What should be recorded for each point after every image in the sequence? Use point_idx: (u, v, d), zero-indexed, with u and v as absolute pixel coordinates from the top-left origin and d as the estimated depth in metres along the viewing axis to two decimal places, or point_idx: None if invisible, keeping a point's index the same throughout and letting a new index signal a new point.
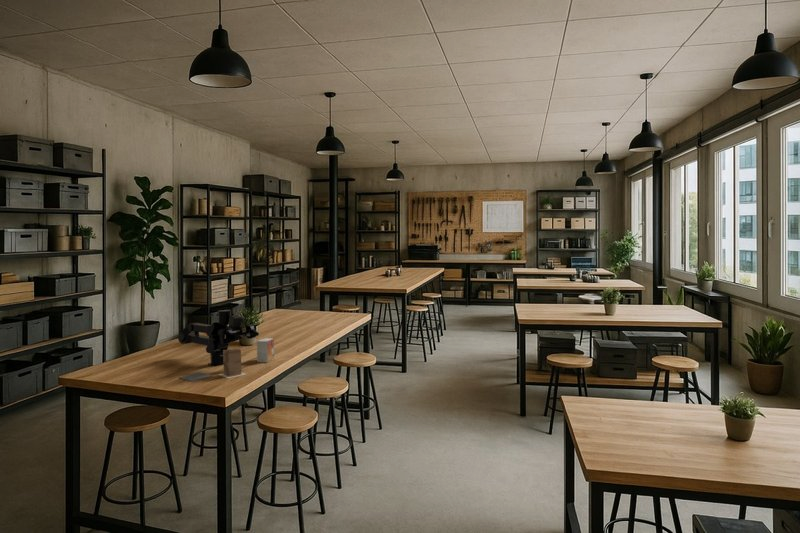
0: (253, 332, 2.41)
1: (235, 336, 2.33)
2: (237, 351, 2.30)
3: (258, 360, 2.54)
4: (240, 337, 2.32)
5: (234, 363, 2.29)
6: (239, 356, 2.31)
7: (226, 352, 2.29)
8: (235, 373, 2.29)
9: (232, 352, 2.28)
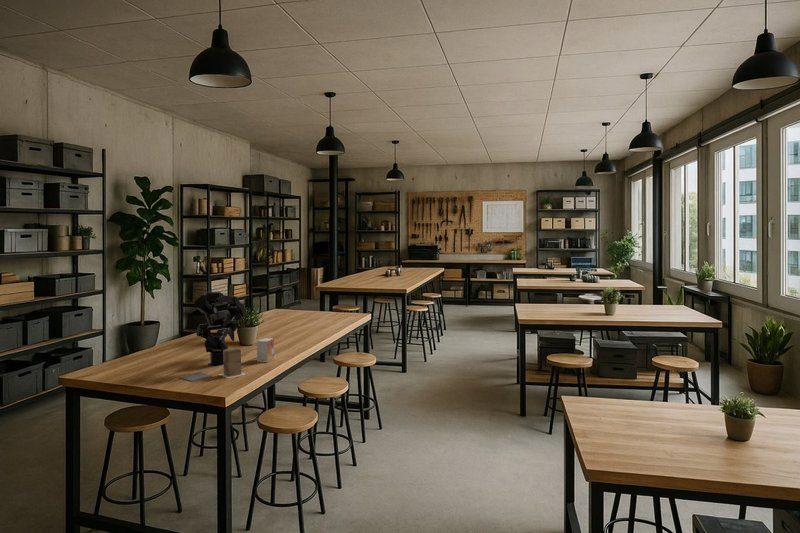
0: (231, 334, 2.41)
1: (210, 338, 2.34)
2: (237, 351, 2.30)
3: (258, 360, 2.54)
4: (213, 342, 2.33)
5: (234, 363, 2.29)
6: (239, 356, 2.31)
7: (226, 352, 2.29)
8: (235, 373, 2.29)
9: (232, 352, 2.28)
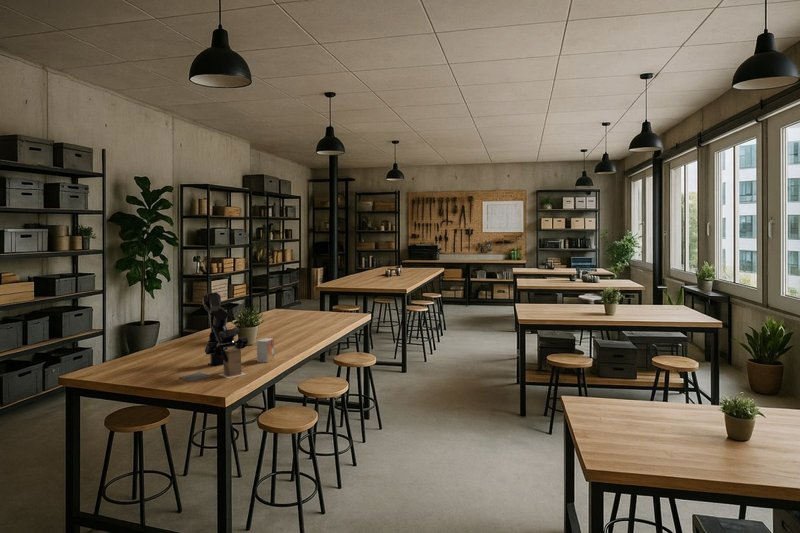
0: None
1: (222, 356, 2.29)
2: (237, 351, 2.30)
3: (258, 360, 2.54)
4: (226, 360, 2.28)
5: (234, 363, 2.29)
6: (239, 356, 2.31)
7: (226, 352, 2.29)
8: (235, 373, 2.29)
9: (232, 352, 2.28)
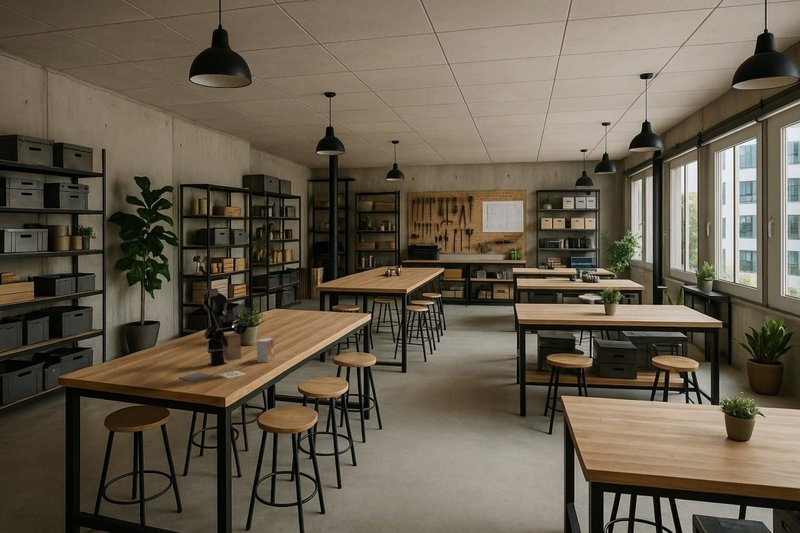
0: None
1: (222, 340, 2.28)
2: (237, 336, 2.29)
3: (258, 360, 2.54)
4: (225, 345, 2.28)
5: (234, 347, 2.29)
6: (239, 341, 2.30)
7: (226, 336, 2.28)
8: (235, 358, 2.29)
9: (232, 336, 2.28)
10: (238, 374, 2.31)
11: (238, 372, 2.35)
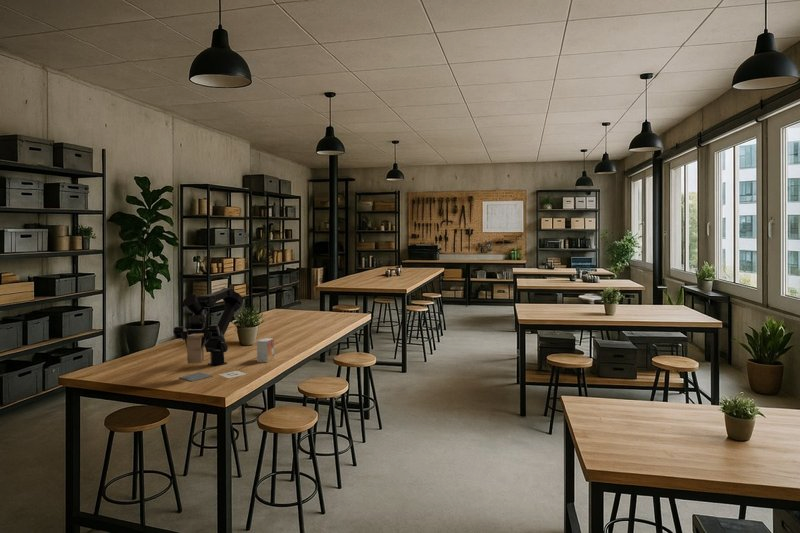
0: None
1: (185, 341, 2.26)
2: (196, 339, 2.24)
3: (258, 360, 2.54)
4: None
5: (193, 350, 2.24)
6: (198, 344, 2.24)
7: None
8: (194, 361, 2.24)
9: (190, 339, 2.23)
10: (238, 374, 2.31)
11: (238, 372, 2.35)
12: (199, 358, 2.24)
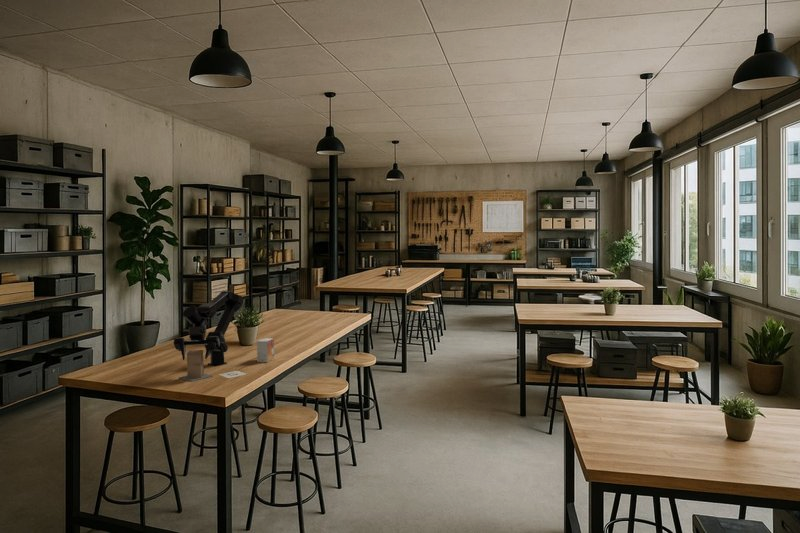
0: None
1: None
2: (196, 354, 2.24)
3: (258, 360, 2.54)
4: None
5: (193, 365, 2.24)
6: (198, 359, 2.24)
7: None
8: (194, 376, 2.24)
9: (190, 354, 2.24)
10: (238, 374, 2.31)
11: (238, 372, 2.35)
12: (199, 373, 2.25)
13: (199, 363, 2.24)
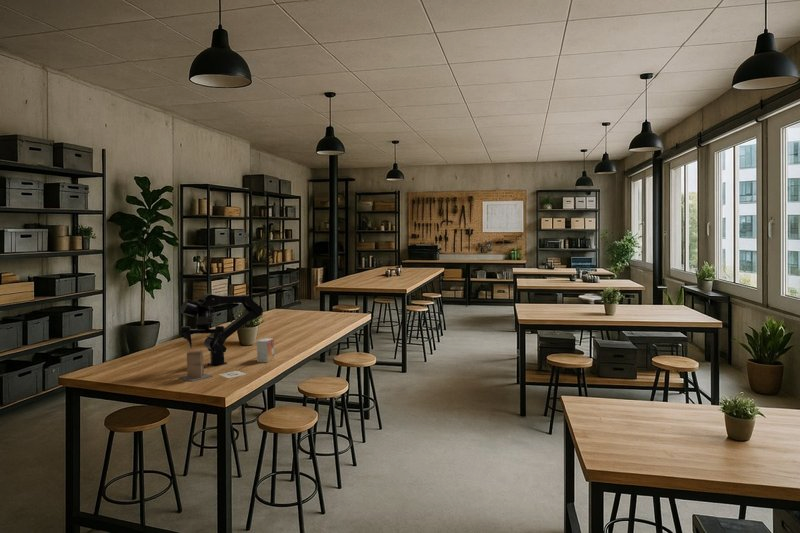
0: (213, 340, 2.38)
1: (188, 341, 2.34)
2: (196, 354, 2.24)
3: (258, 360, 2.54)
4: (190, 346, 2.33)
5: (193, 365, 2.24)
6: (198, 359, 2.24)
7: None
8: (194, 376, 2.24)
9: (190, 354, 2.24)
10: (238, 374, 2.31)
11: (238, 372, 2.35)
12: (199, 373, 2.25)
13: (199, 363, 2.24)
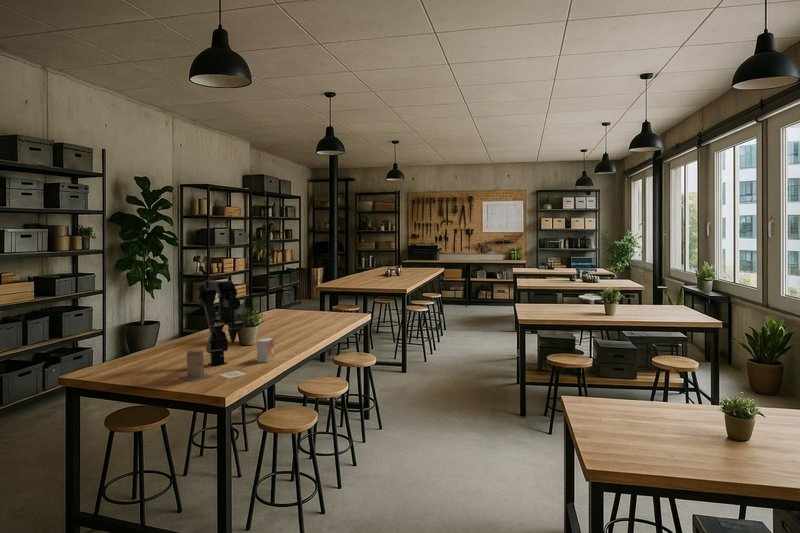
0: (221, 332, 2.44)
1: (234, 335, 2.38)
2: (196, 354, 2.24)
3: (258, 360, 2.54)
4: (233, 341, 2.38)
5: (193, 365, 2.24)
6: (198, 359, 2.24)
7: None
8: (194, 376, 2.24)
9: (190, 354, 2.24)
10: (238, 374, 2.31)
11: (238, 372, 2.35)
12: (199, 373, 2.25)
13: (199, 363, 2.24)
